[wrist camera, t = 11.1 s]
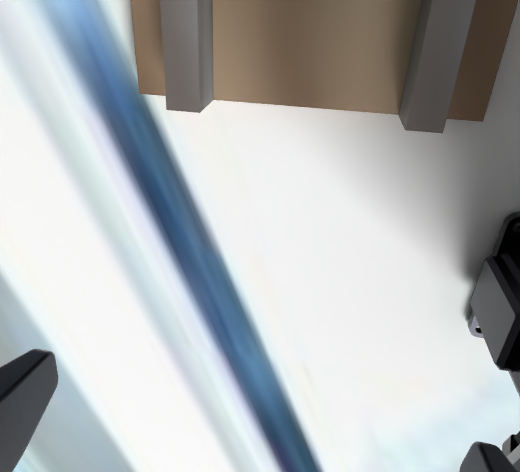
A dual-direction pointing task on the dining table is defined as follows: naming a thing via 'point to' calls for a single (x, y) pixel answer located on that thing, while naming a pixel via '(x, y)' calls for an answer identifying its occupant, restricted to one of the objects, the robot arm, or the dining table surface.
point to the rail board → (325, 54)
